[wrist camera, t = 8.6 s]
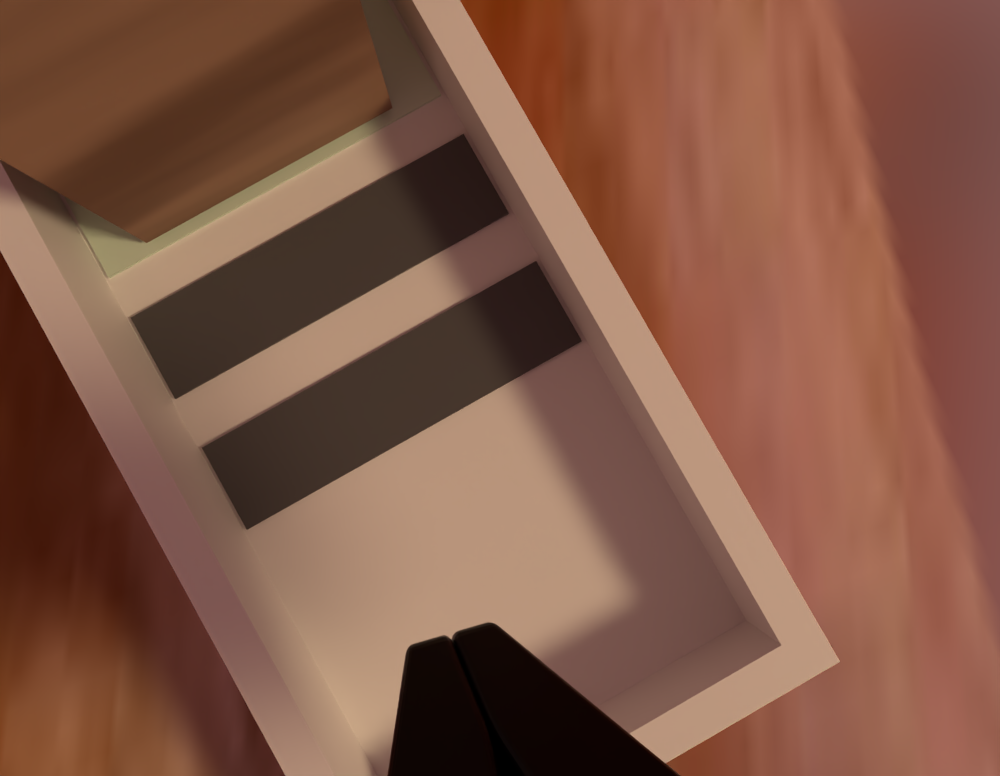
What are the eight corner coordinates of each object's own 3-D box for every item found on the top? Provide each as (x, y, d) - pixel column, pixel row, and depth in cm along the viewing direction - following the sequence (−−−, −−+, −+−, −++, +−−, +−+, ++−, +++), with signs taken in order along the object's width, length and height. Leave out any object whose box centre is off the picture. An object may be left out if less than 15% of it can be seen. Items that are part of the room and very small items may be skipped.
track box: (782, 625, 21) (839, 661, 18) (391, 852, 21) (371, 934, 18) (328, -169, 22) (297, -282, 19) (-54, 37, 22) (-158, -40, 18)
